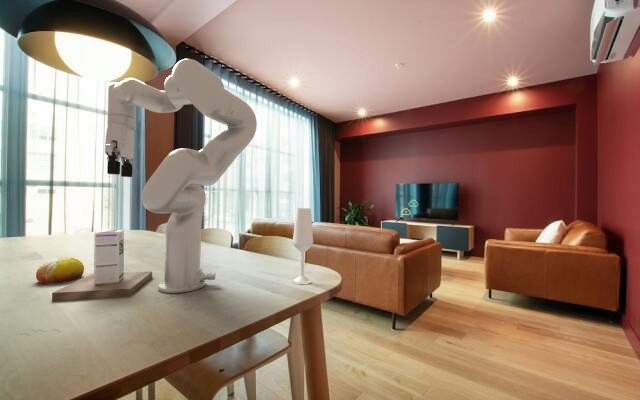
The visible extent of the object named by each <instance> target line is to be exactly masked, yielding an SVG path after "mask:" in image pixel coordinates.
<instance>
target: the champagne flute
mask: <svg viewBox="0 0 640 400" xmlns="http://www.w3.org/2000/svg"><path fill="white" fill-rule="evenodd" d="M293 226H294V227H293V234H292V235H293V237H292V244H293V246H294V247H295V249H297V251H298V252H299V253H300V269H299V270H300V272H299V273H300V274H299V276H298V277H297V278H294V279H293V280H294V281H296V282H307V281H309V280H310V279H309V278H308V277H306V276H305V253H306V252H307V251H308V250H309V249H310V248H311V247H312V246H313V244H314V234H313V233H314V232H313V220H312V208H309V207H308V208H307V207H306V208H305V207H301V208H300V207H298V208H297V207H296V210H295V217H294V225H293Z"/></svg>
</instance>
